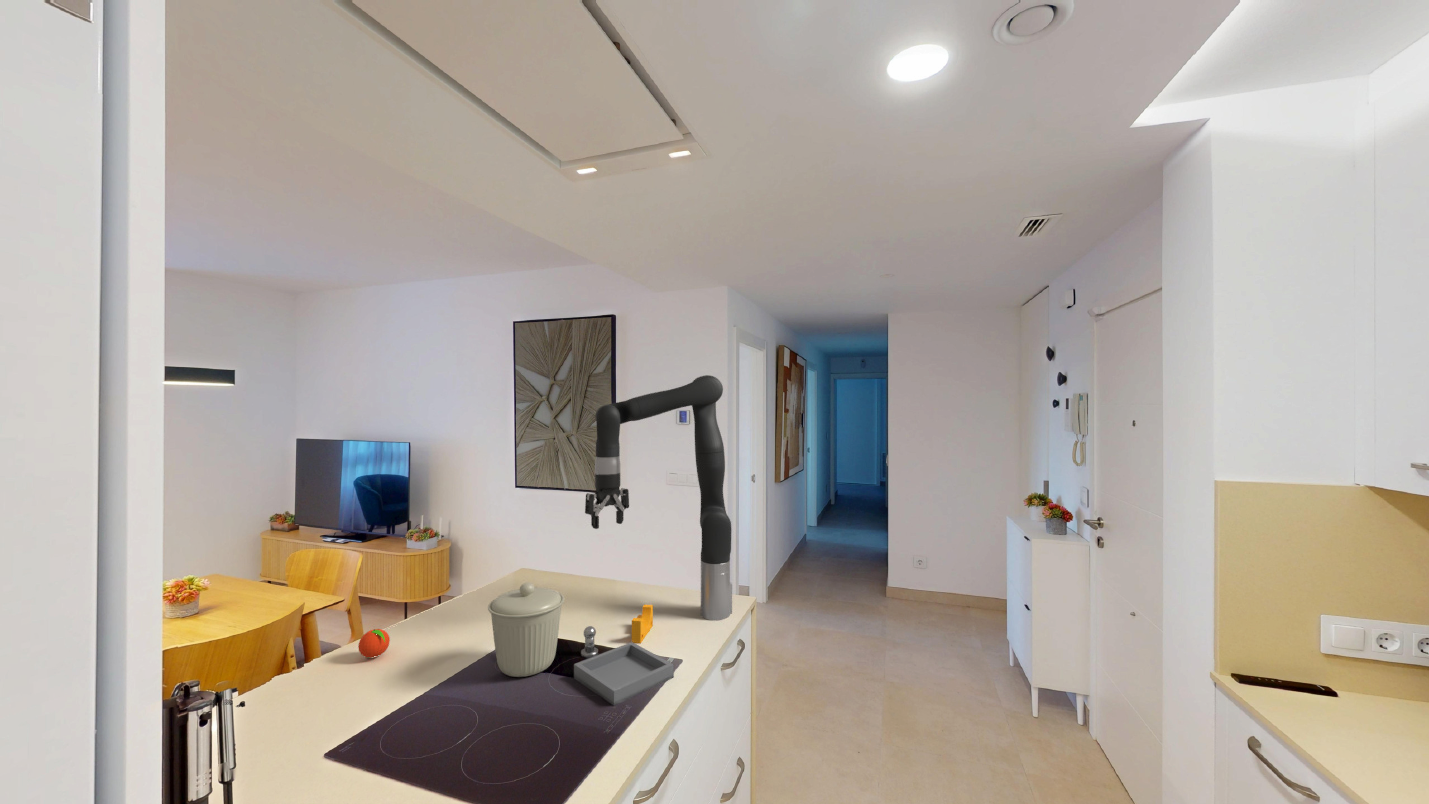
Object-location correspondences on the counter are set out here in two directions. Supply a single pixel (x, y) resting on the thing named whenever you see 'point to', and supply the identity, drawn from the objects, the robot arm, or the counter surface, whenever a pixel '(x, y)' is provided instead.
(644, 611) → the pipe clamp
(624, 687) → the parts bin
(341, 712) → the counter surface
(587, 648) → the door knob
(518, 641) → the canister
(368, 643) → the clementine
